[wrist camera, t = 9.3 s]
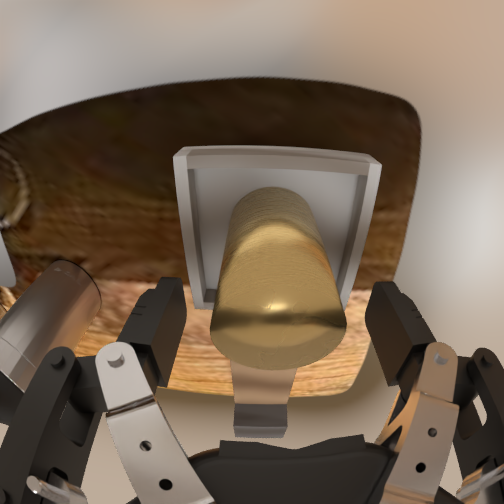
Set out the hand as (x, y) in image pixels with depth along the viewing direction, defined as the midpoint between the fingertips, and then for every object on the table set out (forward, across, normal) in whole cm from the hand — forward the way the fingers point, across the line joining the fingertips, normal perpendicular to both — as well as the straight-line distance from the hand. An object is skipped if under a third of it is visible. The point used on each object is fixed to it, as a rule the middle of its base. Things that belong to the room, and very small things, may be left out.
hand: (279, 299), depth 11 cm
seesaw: (+8, 0, +11) cm, 14 cm away
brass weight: (+5, 0, -1) cm, 5 cm away
